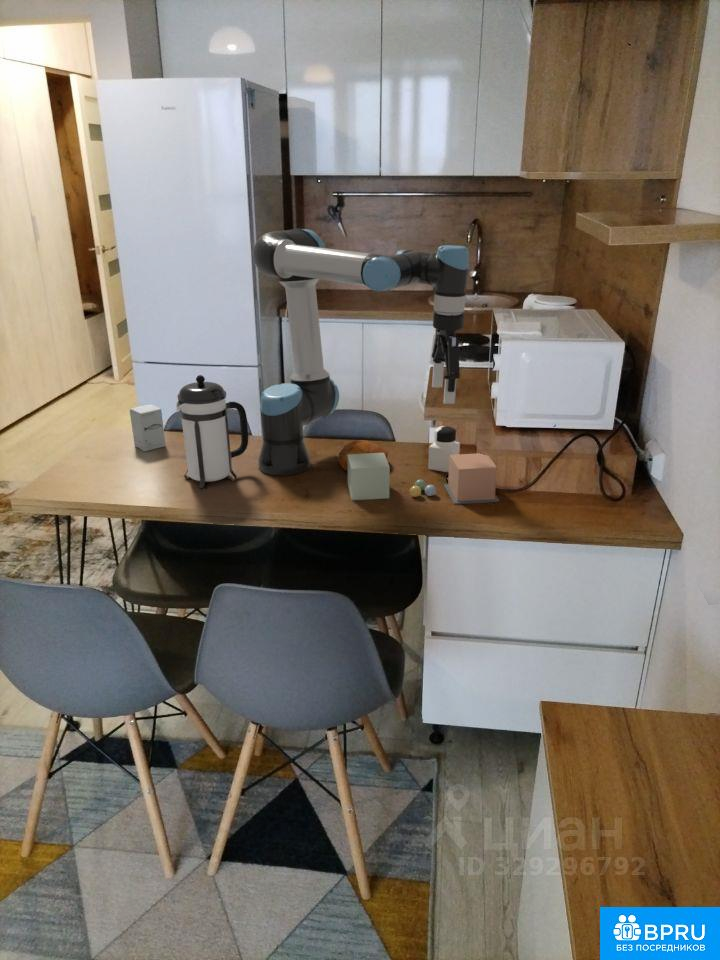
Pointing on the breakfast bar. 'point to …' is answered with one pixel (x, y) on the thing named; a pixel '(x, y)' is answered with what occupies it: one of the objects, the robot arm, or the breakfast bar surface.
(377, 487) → the pale mint cube
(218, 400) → the coffee press
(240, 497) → the breakfast bar surface
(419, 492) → the marble amber
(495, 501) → the coaster
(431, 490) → the marble blue
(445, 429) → the medicine bottle
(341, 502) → the breakfast bar surface
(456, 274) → the robot arm
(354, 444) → the croissant
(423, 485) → the marble green
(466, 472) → the peach wooden cube
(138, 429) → the supplement box
